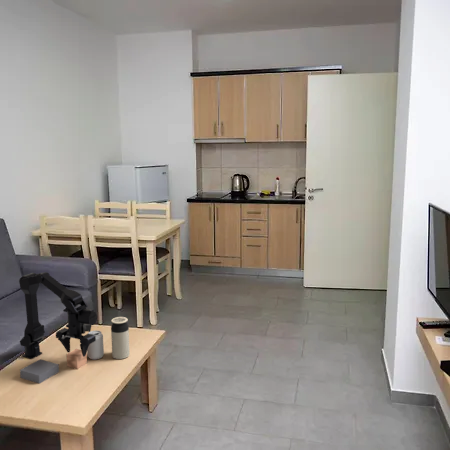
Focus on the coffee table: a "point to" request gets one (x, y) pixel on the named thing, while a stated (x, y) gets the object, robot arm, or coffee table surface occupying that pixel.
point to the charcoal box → (39, 371)
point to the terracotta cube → (76, 359)
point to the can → (96, 346)
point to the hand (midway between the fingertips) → (76, 354)
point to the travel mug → (120, 338)
